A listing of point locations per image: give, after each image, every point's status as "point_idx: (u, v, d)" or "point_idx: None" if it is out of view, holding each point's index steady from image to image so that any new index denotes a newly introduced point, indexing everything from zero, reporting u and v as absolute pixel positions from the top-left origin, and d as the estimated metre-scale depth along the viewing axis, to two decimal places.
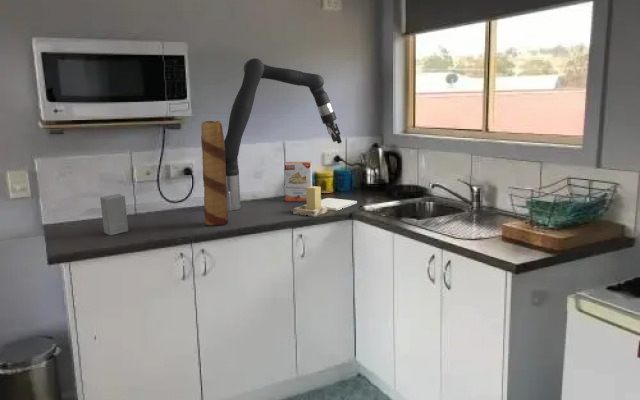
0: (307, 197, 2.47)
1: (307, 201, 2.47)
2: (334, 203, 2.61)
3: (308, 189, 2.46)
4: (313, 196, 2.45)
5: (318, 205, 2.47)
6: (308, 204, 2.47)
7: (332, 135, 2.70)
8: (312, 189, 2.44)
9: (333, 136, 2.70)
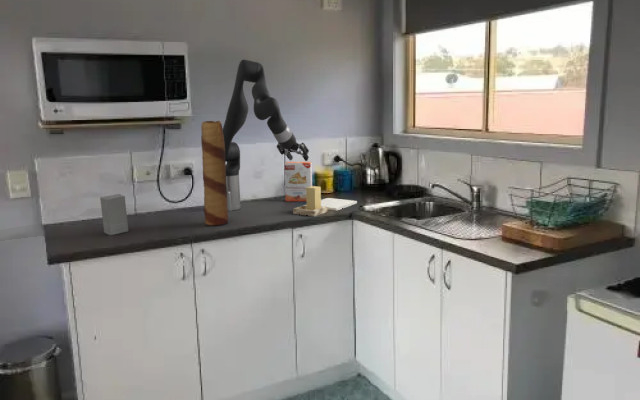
0: (307, 197, 2.47)
1: (307, 201, 2.47)
2: (334, 203, 2.61)
3: (308, 189, 2.46)
4: (313, 196, 2.45)
5: (318, 205, 2.47)
6: (308, 204, 2.47)
7: None
8: (312, 189, 2.44)
9: None
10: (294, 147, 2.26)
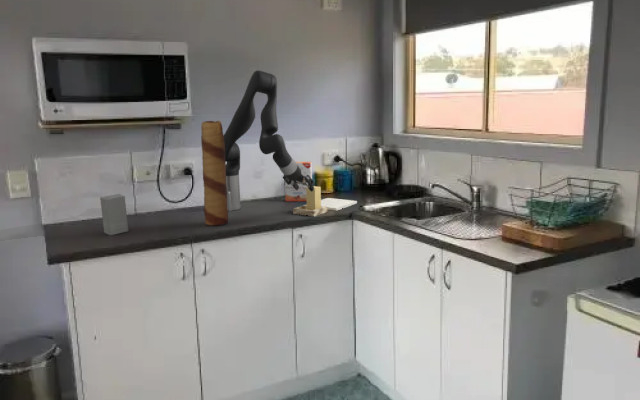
0: (307, 197, 2.47)
1: (307, 201, 2.47)
2: (334, 203, 2.61)
3: (308, 189, 2.46)
4: (313, 196, 2.45)
5: (318, 205, 2.47)
6: (308, 204, 2.47)
7: None
8: None
9: None
10: (299, 179, 2.32)
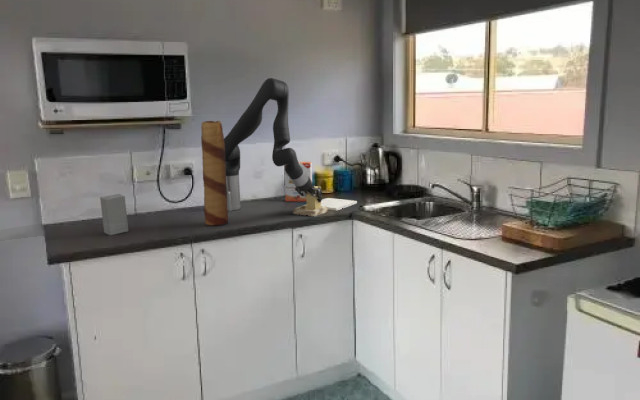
0: (307, 197, 2.47)
1: (307, 201, 2.47)
2: (334, 203, 2.61)
3: None
4: (313, 196, 2.45)
5: (318, 205, 2.47)
6: (308, 204, 2.47)
7: None
8: None
9: None
10: (311, 190, 2.40)
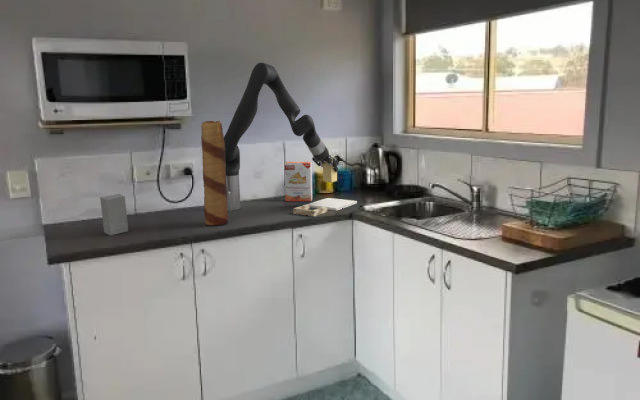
0: (324, 167, 2.55)
1: (324, 171, 2.56)
2: (334, 203, 2.61)
3: None
4: None
5: (334, 175, 2.56)
6: (324, 173, 2.56)
7: None
8: None
9: None
10: (327, 159, 2.49)
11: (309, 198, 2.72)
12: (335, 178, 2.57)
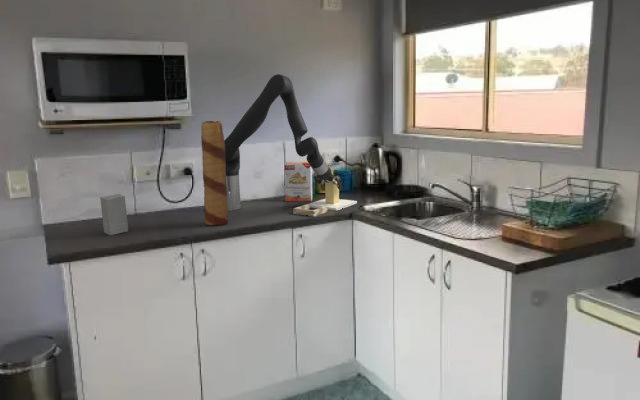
0: (326, 189, 2.60)
1: (326, 193, 2.61)
2: None
3: None
4: (332, 188, 2.58)
5: (336, 197, 2.61)
6: (327, 196, 2.61)
7: None
8: None
9: None
10: (330, 178, 2.53)
11: (309, 198, 2.72)
12: (337, 200, 2.62)
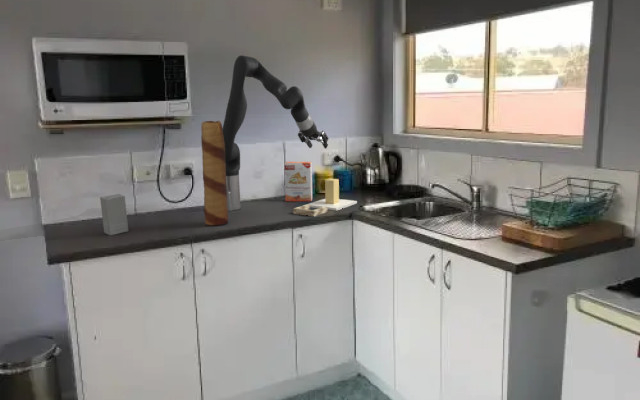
0: (326, 189, 2.60)
1: (326, 193, 2.61)
2: None
3: (327, 181, 2.59)
4: (332, 188, 2.58)
5: (336, 197, 2.61)
6: (327, 196, 2.61)
7: None
8: (331, 181, 2.58)
9: None
10: (315, 135, 2.40)
11: (309, 198, 2.72)
12: (337, 200, 2.62)
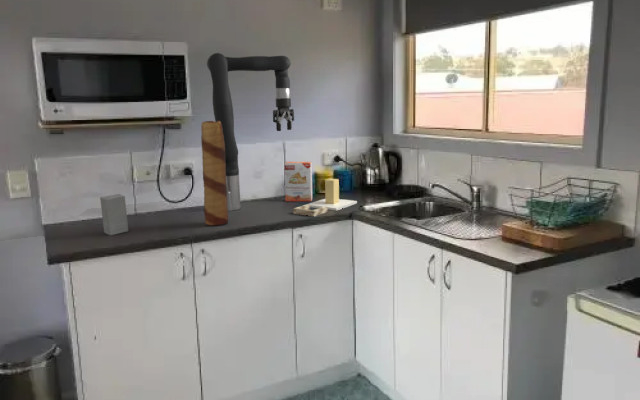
0: (326, 189, 2.60)
1: (326, 193, 2.61)
2: None
3: (327, 181, 2.59)
4: (332, 188, 2.58)
5: (336, 197, 2.61)
6: (327, 196, 2.61)
7: (288, 122, 2.62)
8: (331, 181, 2.58)
9: (288, 124, 2.62)
10: (288, 110, 2.59)
11: (309, 198, 2.72)
12: (337, 200, 2.62)
